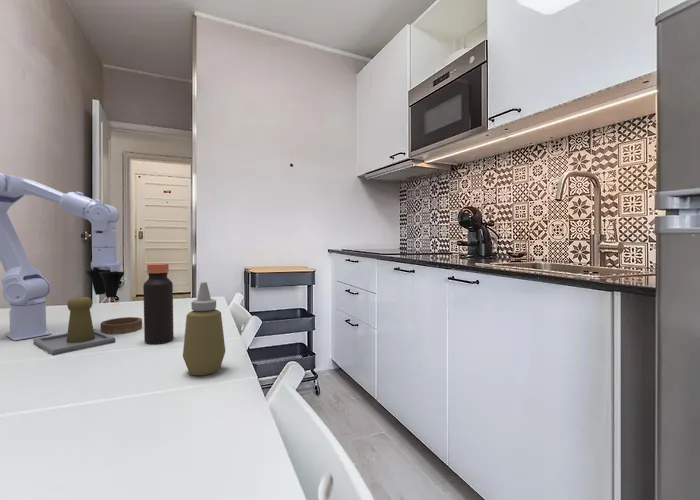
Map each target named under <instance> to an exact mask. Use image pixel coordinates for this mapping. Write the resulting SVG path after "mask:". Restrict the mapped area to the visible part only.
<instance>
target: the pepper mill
mask: <svg viewBox="0 0 700 500" xmlns="http://www.w3.org/2000/svg"><path fill="white" fill-rule="evenodd" d="M66 305H67V309H68V310H69V318H68V327H67V332H66V333H67V341H66V342H67V343H81V342H87V341H91V340H93V339H95V335H94V330H93V329H94V325H93V319H92V315H91V308H92V307H93V300H92V298H91V297H89V296H77V297H72V298H70V299H68V302H67V304H66Z"/></svg>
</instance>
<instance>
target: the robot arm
mask: <svg viewBox="0 0 700 500" xmlns="http://www.w3.org/2000/svg"><path fill="white" fill-rule="evenodd" d="M25 196H34V197H35V196H36V197H37V198H41V199H44V200H46V201H49V202H53V203H55V204H59V206H60V208H61V209H62V211H63V212H66V213H67V214H71V215H75V216H76V217H79V218H82V219H85V220H88V221H89V222H90V224H91V256H92V259H91V262H90V269H91V270H90V269H89V270H86V271H85V272H86V274H87V275H88V278H90V281H91V284H92V287H93V291H94V294H95V296H97V295H98V296H99V295H105V297H106V298H109V299H110V298H116V296H117V293H118V290H119V285H120V282H121V280H122V278H123V276H124V275H125V271H121V265H122V261H118V259H117V257H118V256H117V254H118V253H117V252H118V251H117V222H118V221H119V218H120V213H119V210H118V209H117V208H116V207H115V206H113V205H112V204H104V203H102V201H101V200H100V199H96V198H95V199H93V198H91V197H88V196H85V194H84V193H83V192H81V191H76V192H75V191H69V192H66V193H64V192H62V191H60V190H57V189H54V188H52V187H50V186H48V185H45V184H43V183H40V182H38V181H36V180H32V179H29V178H23V177H22V176H18V175H10V174H6V173H3V172H2V173H1V172H0V263H1V266H2V267H3V269H4V271H5V273H4V275H3V276H2V278H1V279H0V282H1V284H2V287H3V288H2V289H3V290H2V295H3V298H4V300H6V301H7V302H8V303H9V306H10V310H9V332H5V336H7V337H8V338H10V339H11V340H12V341H19V340H25V339H31V338H39V337H45V336H51V335H53V334H52V331H50V330H48V329H47V312H46V311H47V307H46V299H47V296H48V295H49V294H50V293H51V290H52V287H51V283H50V282H49V280H48V279H47V278H45V276H43V274H42V272H41V271H40V270H39V269H37V267H34V266H33V265H32V264H31V262H30V260H29V256H28V255H27V253H26V251H25V248H24V247H23V245H22V242H21V240H20V238H19V236H18V234H17V232H16V229H15V227H14V225H13V223H12V221H11V219H10V217H9V214H8V211H9V209H10V208H11V207H12V206H14V204H16V203H17V202H18V201H20V200H21V199H22V198H24V197H25Z"/></svg>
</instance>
